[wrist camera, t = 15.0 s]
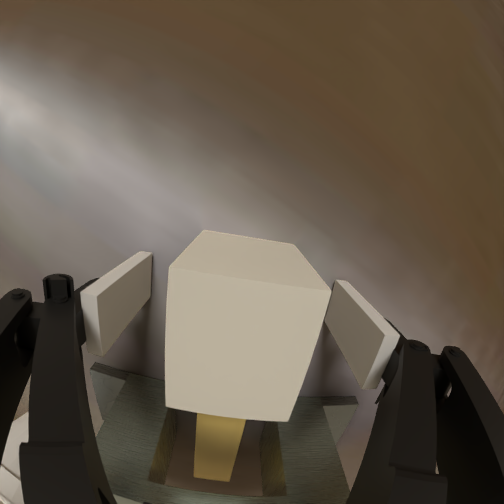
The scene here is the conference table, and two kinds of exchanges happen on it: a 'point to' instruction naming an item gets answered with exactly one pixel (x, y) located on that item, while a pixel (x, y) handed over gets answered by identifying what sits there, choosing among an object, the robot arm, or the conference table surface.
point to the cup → (13, 462)
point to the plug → (238, 338)
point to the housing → (164, 432)
